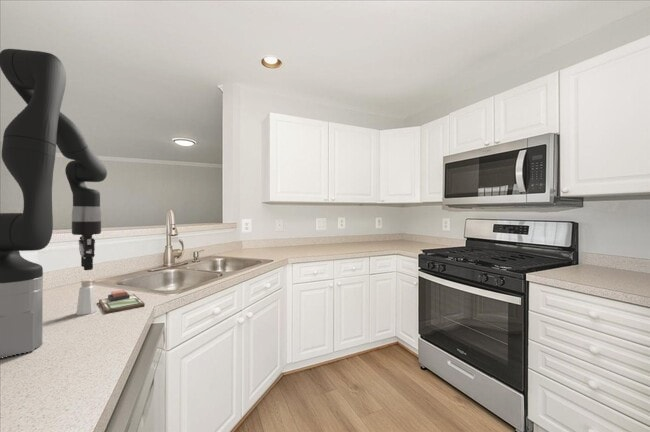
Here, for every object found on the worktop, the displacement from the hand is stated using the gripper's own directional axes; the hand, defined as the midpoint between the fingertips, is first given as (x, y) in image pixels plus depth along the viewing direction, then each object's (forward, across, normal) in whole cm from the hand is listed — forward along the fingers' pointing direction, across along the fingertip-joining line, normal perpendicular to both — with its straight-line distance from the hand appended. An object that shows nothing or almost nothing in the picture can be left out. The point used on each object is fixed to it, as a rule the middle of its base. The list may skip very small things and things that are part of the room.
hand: (86, 268), depth 94 cm
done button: (+13, +7, -10) cm, 18 cm away
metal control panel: (+15, +2, -10) cm, 18 cm away
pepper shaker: (+15, 0, 0) cm, 15 cm away
